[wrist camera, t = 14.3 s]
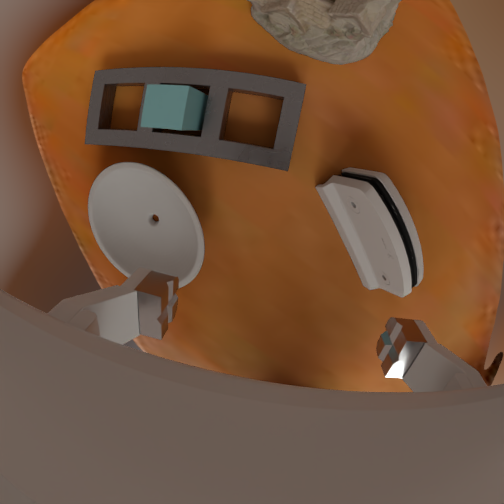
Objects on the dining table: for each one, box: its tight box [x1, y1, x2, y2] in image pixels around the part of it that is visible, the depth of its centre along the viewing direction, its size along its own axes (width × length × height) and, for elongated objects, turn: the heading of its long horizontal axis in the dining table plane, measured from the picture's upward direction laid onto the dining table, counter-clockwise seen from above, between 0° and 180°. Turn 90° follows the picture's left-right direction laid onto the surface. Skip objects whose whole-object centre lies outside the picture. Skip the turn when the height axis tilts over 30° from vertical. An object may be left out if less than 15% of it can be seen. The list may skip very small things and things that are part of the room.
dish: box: [88, 162, 205, 288], centre depth 34 cm, size 18×14×5 cm
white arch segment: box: [315, 167, 423, 297], centre depth 30 cm, size 17×5×10 cm, turn 32°
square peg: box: [140, 84, 208, 131], centre depth 26 cm, size 4×4×8 cm
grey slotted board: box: [85, 67, 306, 171], centre depth 28 cm, size 10×26×3 cm, turn 79°
